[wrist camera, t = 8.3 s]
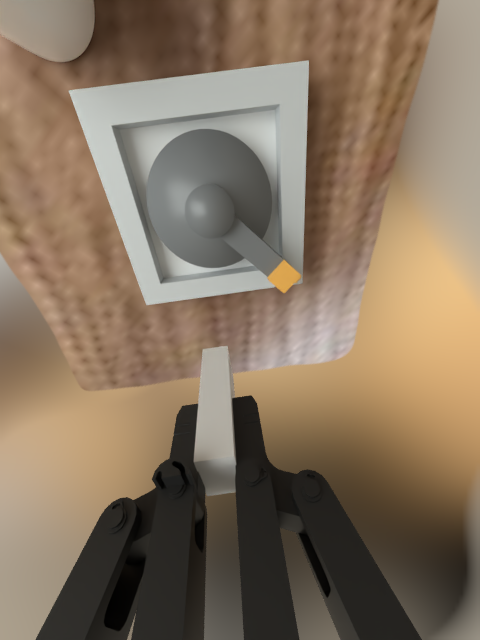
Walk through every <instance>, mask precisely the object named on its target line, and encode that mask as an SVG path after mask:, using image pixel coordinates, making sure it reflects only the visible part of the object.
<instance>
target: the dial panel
mask: <svg viewBox="0 0 480 640" xmlns="http://www.w3.org/2000/svg"><path fill="white" fill-rule="evenodd" d="M308 77H309V60H308V61H300V62H292V63H284V64H276V65H268V66H260V67H252V68H244V69H236V70H228V71H220V72H212V73H204V74H196V75H188V76H180V77H172V78H164V79H156V80H148V81H140V82H132V83H124V84H116V85H108V86H100V87H92V88H84V89H76V90H69V93H70V95H71V98H72V101H73V104H74V107H75V109H76V112H77V115H78V118H79V120H80V123H81V126H82V129H83V131H84V134H85V137H86V140H87V142H88V145H89V148H90V151H91V153H92V156H93V159H94V162H95V164H96V167H97V170H98V173H99V176H100V178H101V181H102V184H103V187H104V189H105V192H106V195H107V198H108V200H109V203H110V206H111V209H112V211H113V214H114V217H115V220H116V222H117V225H118V228H119V231H120V233H121V236H122V239H123V242H124V244H125V247H126V250H127V253H128V256H129V258H130V261H131V264H132V267H133V269H134V272H135V275H136V278H137V280H138V283H139V286H140V289H141V291H142V294H143V297H144V300H145V302H146V305H151V304H158V303H165V302H172V301H179V300H187V299H194V298H201V297H208V296H215V295H223V294H230V293H237V292H244V291H251V290H259V289H266V288H273V287H276V286H274V285H273V284H272V283H271V282H270V281H268V279H267V276H266V275H265V274H263V273H262V272H261V271H260V270H259V269H257V268H256V267H255V266H254V265H253V264H251V263H250V262H249V261H248V260H247V259H245V258H244V259H243V260H241V261H239V262H237V263H235V264H233V265H230V266H226V267H221V268H204V267H200V266H196V265H193V264H190V263H188V262H186V261H184V260H182V259H181V258H179V257H178V256H176V255H175V254H174V253H173V252H171V251H170V250H169V249H168V248H167V247H166V246H165V245H164V243H163V242H162V241H161V239H160V238H159V236H158V235H157V233H156V231H155V229H154V227H153V225H152V223H151V220H150V216H149V213H148V208H147V200H146V189H147V181H148V176H149V173H150V170H151V167H152V165H153V163H154V161H155V159H156V157H157V156H158V154H159V153H160V151H161V150H162V149H163V148H164V147H165V146H166V145H167V144H168V143H169V142H170V141H171V140H173V139H174V138H176V137H177V136H179V135H181V134H183V133H186V132H189V131H191V130H197V129H214V130H220V131H223V132H226V133H229V134H231V135H233V136H235V137H237V138H238V139H240V140H241V141H242V142H244V143H245V144H246V145H247V146H248V147H249V148H250V149H251V150H252V151H253V152H254V153H255V154H256V156H257V157H258V158H259V160H260V161H261V163H262V165H263V166H264V169H265V171H266V173H267V176H268V179H269V182H270V186H271V192H272V213H271V219H270V222H269V226H268V229H267V231H266V233H265V235H264V237H263V240H264V241H265V242H266V243H267V244H268V245H270V246H271V247H272V248H273V249H274V250H275V251H276V252H277V253H278V254H279V255H281V256H282V257H283V258H284V259H285V260H286V261H287V262H288V263H289V264H290V265H291V266H292V267H293V268H294V269H295V270H296V271H298V272H299V273H300V274H301V277H300V278H299V279H298V280H297V281H296V282H295V283H294V284H293V285H295V284H302V283H303V249H304V214H305V180H306V146H307V111H308Z"/></svg>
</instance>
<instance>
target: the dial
mask: <svg viewBox="0 0 480 640" xmlns="http://www.w3.org/2000/svg"><path fill="white" fill-rule="evenodd" d="M146 200H147V208H148V213H149V216H150V220H151V223H152V225H153V227H154V229H155V231H156V233H157V235H158V236H159V238H160V239H161V241H162V242H163V243H164V245H165V246H166V247H167V248H168V249H169V250H170V251H171V252H173V253H174V254H175V255H176V256H178V257H179V258H181V259H182V260H184V261H186V262H188V263H190V264H193V265H196V266H200V267H204V268H221V267H226V266H230V265H233V264H235V263H237V262H239V261H241V260H243V259H244V258H245V259H247V260H248V261H249V262H250V263H251V264H253V265H254V266H255V267H256V268H257V269H259V270H260V271H261V272H262V273H263V274H265V275H266V276H267V279H268V281H270V282H271V283H272V284H273V285H274V286H276V287H277V288H278V289H279V290H280V291H282V292H283V293H285V292H286V291H287V290H288V289H289V288H290V287H291V286H292V285H293V284H294V283H295V282H296V281H297V280H298V279H299V278H300V277H301V274H300V273H299V272H298V271H296V270H295V269H294V268H293V267H292V266H291V265H290V264H289V263H288V262H287V261H286V260H285V259H284V258H283V257H282V256H281V255H279V254H278V253H277V252H276V251H275V250H274V249H273V248H272V247H271V246H270V245H268V244H267V243H266V242H265V241H264V240H263V237H264V235H265V233H266V231H267V229H268V226H269V222H270V219H271V213H272V192H271V186H270V182H269V179H268V176H267V173H266V171H265V169H264V166H263V165H262V163H261V161H260V160H259V158H258V157H257V156H256V154H255V153H254V152H253V151H252V150H251V149H250V148H249V147H248V146H247V145H246V144H245V143H244V142H242V141H241V140H240V139H238V138H237V137H235V136H233V135H231V134H229V133H226V132H223V131H220V130H214V129H197V130H191V131H189V132H186V133H183V134H181V135H179V136H177V137H176V138H174V139H173V140H171V141H170V142H169V143H168V144H167V145H166V146H165V147H164V148H163V149H162V150H161V151H160V153H159V154H158V156H157V157H156V159H155V161H154V163H153V165H152V167H151V170H150V173H149V176H148V181H147V189H146Z"/></svg>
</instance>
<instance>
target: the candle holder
mask: <svg viewBox="0 0 480 640" xmlns="http://www.w3.org/2000/svg"><path fill="white" fill-rule="evenodd" d="M94 23H95V7H94V0H0V35H1V36H2V37H4V38H6V39H8V40H9V41H11V42H13V43H15V44H16V45H18V46H20V47H22V48H23V49H25V50H27V51H29V52H31V53H33V54H35V55H37V56H39V57H41V58H43V59H46V60H49V61H53V62H68V61H71V60H74V59H76V58H77V57H79V56H80V55H81V54H82V53H83V52H84V51H85V50H86V48H87V47H88V45H89V43H90V41H91V38H92V35H93V30H94Z"/></svg>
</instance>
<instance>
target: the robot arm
mask: <svg viewBox="0 0 480 640" xmlns="http://www.w3.org/2000/svg"><path fill="white" fill-rule="evenodd" d="M152 480H153V482H154V483H155V485H156V488H155V489H153V490H152V491H150V492H149V493H147V494H145V495H143V496H141V497H139V498H137V499H135V500H132V499H130V498H127V497H126V498H120V499H118V500H116V501H114V502H112V503H111V504H110V505H109V506H108V507H107V508H106V509H105V510H104V512H103V513H102V515H101V516H100V518H99V520H98V522H97V524H96V526H95V527H94V530H93V531H92V533H91V535H90V537H89V539H88V541H87V543H86V545H85V547H84V548H83V550H82V552H81V554H80V556H79V558H78V560H77V562H76V564H75V566H74V567H73V570H72V571H71V573H70V575H69V577H68V579H67V581H66V583H65V585H64V586H63V588H62V590H61V592H60V594H59V596H58V598H57V600H56V602H55V604H54V606H53V607H52V609H51V611H50V613H49V615H48V617H47V619H46V621H45V623H44V625H43V626H42V628H41V630H40V632H39V634H38V636H37V638H36V640H127V637H128V634H129V631H130V628H131V625H132V622H133V619H134V616H135V613H136V616H135V622H134V627H133V633H132V639H131V640H204V611H205V574H206V537H207V509H206V506H205V491H206V494H207V496H211V495H217V494H224V493H231V492H236V504H237V524H238V541H239V559H240V576H241V592H242V593H241V594H242V611H243V629H244V640H299V635H298V629H297V624H296V618H295V612H294V607H293V601H292V596H291V590H290V584H289V578H288V573H287V567H286V561H285V556H284V550H283V545H282V539H281V533H280V528H283V529H286V530H290V531H294V532H296V534H297V537H298V539H299V541H300V544H301V546H302V549H303V551H304V553H305V556H306V558H307V561H308V563H309V565H310V568H311V570H312V572H313V575H314V577H315V580H316V582H317V584H318V587H319V589H320V592H321V594H322V596H323V599H324V601H325V603H326V606H327V608H328V611H329V613H330V615H331V618H332V620H333V623H334V625H335V627H336V630H337V632H338V635H339V637H340V639H341V640H422V639H421V638H420V636H419V634H418V633H417V631H416V629H415V628H414V626H413V624H412V623H411V621H410V619H409V618H408V616H407V614H406V613H405V611H404V609H403V607H402V606H401V604H400V602H399V601H398V599H397V597H396V596H395V594H394V592H393V591H392V589H391V588H390V586H389V584H388V583H387V581H386V579H385V578H384V576H383V574H382V572H381V571H380V569H379V568H378V566H377V564H376V563H375V561H374V559H373V557H372V556H371V554H370V552H369V551H368V549H367V547H366V546H365V544H364V542H363V541H362V539H361V537H360V536H359V534H358V533H357V531H356V529H355V527H354V526H353V524H352V522H351V521H350V519H349V517H348V516H347V514H346V512H345V511H344V509H343V507H342V506H341V504H340V502H339V501H338V499H337V497H336V496H335V494H334V492H333V490H332V489H331V487H330V486H329V484H328V482H327V481H326V480H325V478H324V477H323V476H322V475H320V474H319V473H317V472H316V471H312V470H303V471H300V472H299V473H298V474H294V473H289V472H284V471H282V470H279V469H277V468H276V467H274V466H273V465H272V464H271V463H270V462H269V460H268V458H267V455H266V452H265V446H264V441H263V435H262V429H261V424H260V418H259V412H258V407H257V403H256V402H255V400H254V398H253V397H252V396H244V397H237V398H235V394H234V383H233V374H232V368H231V363H230V357H229V352H228V346H223V347H216V348H209V349H203V353H202V366H201V378H200V390H199V403H198V404H192V405H186V406H182V408H181V410H180V411H179V413H178V414H177V418H176V424H175V430H174V436H173V441H172V448H171V453H170V459H168V460H166V461H164V462H163V463H162V464H160V465H159V467H158V468H157V469H156V471H155V473H154V475H153V478H152ZM136 610H137V611H136Z"/></svg>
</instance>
